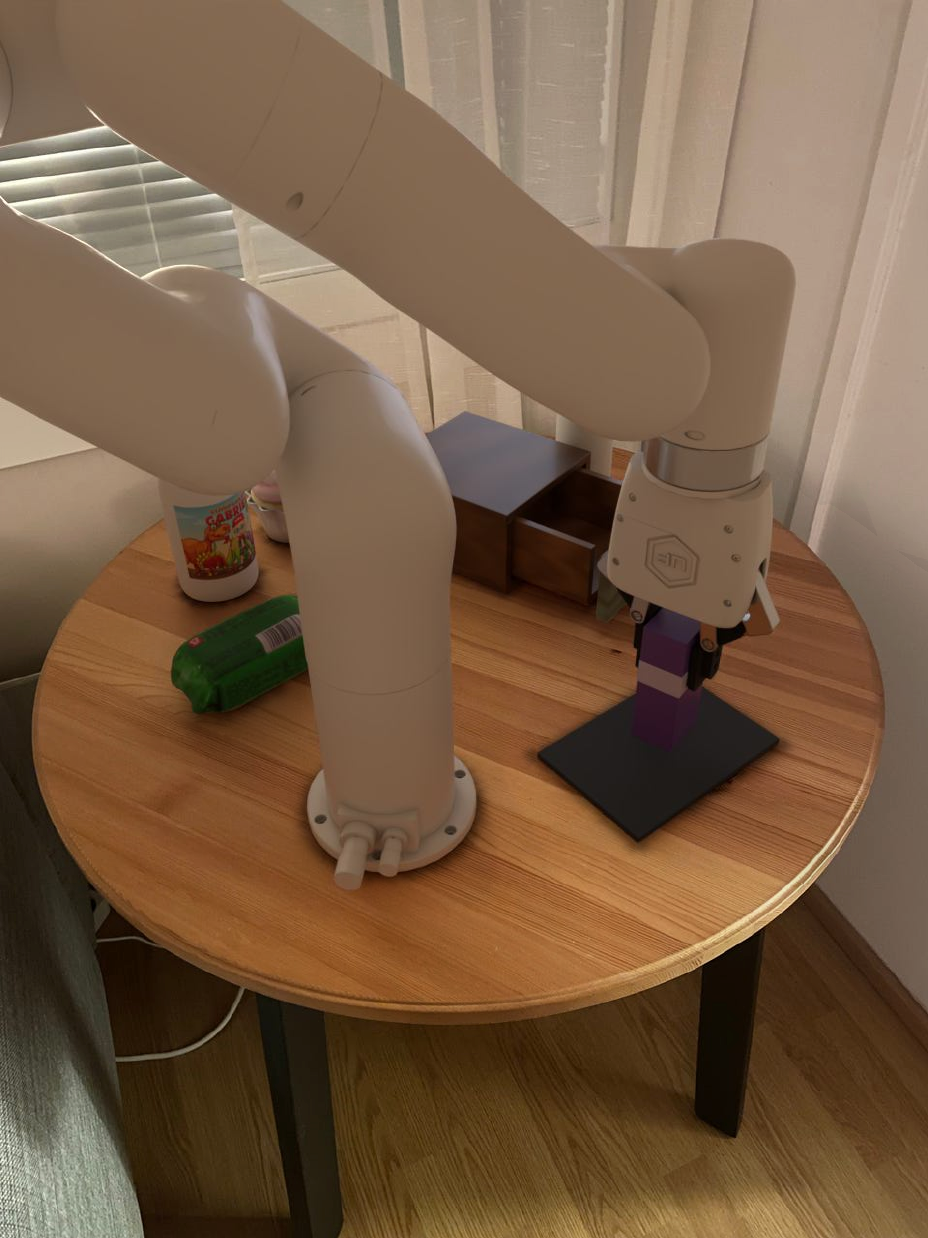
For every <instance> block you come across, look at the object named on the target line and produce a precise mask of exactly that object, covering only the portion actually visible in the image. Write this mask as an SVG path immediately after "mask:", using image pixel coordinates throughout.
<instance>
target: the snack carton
mask: <svg viewBox="0 0 928 1238" xmlns="http://www.w3.org/2000/svg"><path fill="white" fill-rule="evenodd" d="M699 637H700V621H697V620H695V619H692V618H689V617H687V616H684V615H682V614H679V613H676V612H674V611H671V610H669V609H666V608H662V609H661V610H660V611H659V612H658V613H657V614H656V615H655V616H654V617H653V618H652V619H651V620H650V621H649V622H648V623H647V624H646V625H645V626H644V628H643V636H642V645H641V653H640V660H639V666H638V667H637V676H636V688H635V693H636V696H635V704H634V713H633V721H632V730H631V735H632V736H635V737H637V738H639V739H641V740H643V741H645V742H648V743H650V744H652V745H654V746H656V747H658V748H661V749H663V750H665V751H667V752H669V753H671V751H672V750H673V749H674V748H675V747H676V745H677V744H678V743H679V742H680V740H681V739H682V738H683V737H684V735H685V734H686V733H687V732H688V731H689V729H690V728H691V727H692V726H693V724H694V723H695V722H696V720H697V714H698V709H699V703H700V697H701V691H702V686H703V685H704V684H703V683H704V682H703V683H702V684H701V685H700V686H699V688H698V689H697V690H696V691H695V692H694V691H692V690H690V689H688V687H687V686H686V685H687V678H688V669H689V662H690V655H691V650H692V647H693V646H694V645H695V643H696V642H697V641H698V640H699Z"/></svg>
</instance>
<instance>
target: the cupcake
mask: <svg viewBox="0 0 928 1238" xmlns="http://www.w3.org/2000/svg"><path fill="white" fill-rule="evenodd" d="M245 493H246V497H247V498H246V499H247V504H248V507H250V509H251V510H252V511H253V512H254V513H255V514H256V515H257V518H258V520H259V523H260V524H261V526H262V528H263V531H264V533H265V534H266V535H267V536H268V537H269V538H270V539H271V540H272V541H273V540H274V541H276V542H279V543H283V544H290V543H289V537H288V531H287V525H286V520H285V515H284V510H283V505H282V501H281V497H280V493H279V489H278V484H277V476H276V472H275V469H274V470H273V472H272V473H271V474H270V475H269V476H268V477H267V478H266V479H265V480H264V481H263V482H261V483H259V484H258V485H256V486H255V487H253V488H251V489H249V490H247V491H245Z"/></svg>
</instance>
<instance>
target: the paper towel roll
mask: <svg viewBox="0 0 928 1238" xmlns="http://www.w3.org/2000/svg"><path fill="white" fill-rule="evenodd" d="M555 424H556V426H555V440H556V441H559V442H562V443H565V444H568V445H572V446H575V447H578V448H581V449H584V450H587V451H590V452H591V459H590V460H591V464H590V470H591V471H594V472H597V473H600V474H603V475H606V476H609V477H611V472H612V471H611V469H612V460H613V448H614V440H613V439H608V438H605V437H602V436H599V435H596V434H594V433H592V432H590V431H588V430H587V429H585V428H583V427H581V426H579V425H577V424H575V423H574V422H572V421H570V420H568V419H567V418H565V417H563V416H561V415H560V414H558V413H556V422H555Z"/></svg>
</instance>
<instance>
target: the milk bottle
mask: <svg viewBox="0 0 928 1238" xmlns="http://www.w3.org/2000/svg"><path fill="white" fill-rule="evenodd" d="M156 479H157V480H156V481H157V488H158V489H157V490H158V494H159V500H160V506H161V510H162V515H163V518H164V524H165V528H166V532H167V533H166V534H167V537H168V542H169V545H170V546H169V547H170V550H171V554H172V559H173V563H174V567H175V571H176V575H177V579H178V583H179V586H180V588H181V590H182V591H183V592H184V593H185V595H187V596H188V597H189V598H191V599H194V600H197V601H200V602H206V603H208V602H209V603H219V602H225V601H229V600H232V599H236V598H237V597H241V596H242V595H244V594H246V593H248V592H249V591H250V590H251V589H252V588H253V587H254V586H255V584H256V583H257V580H258V578H259V574H260V573H259V572H260V571H259V562H258V556H257V551H256V544H255V539H254V533H253V527H252V522H251V516H250V511H249V505H248V504H247V499H248V498H247V495H246V493H245V491H244V492H240V493H237V494H233V495H219V496H210V495H205V494H200V493H195V492H190V491H187V490H184V489H182V488H179V487H177V486H175V485H173V484H170V483H168V482H166V481H163V480H161V479H159V478H157V477H156Z"/></svg>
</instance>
